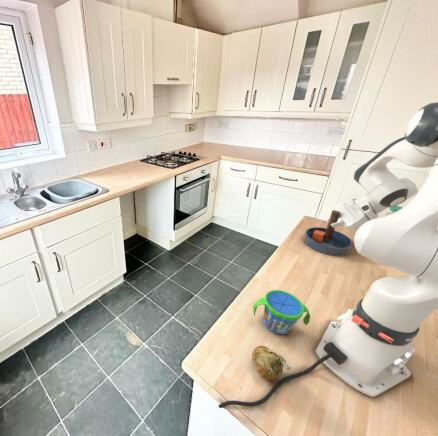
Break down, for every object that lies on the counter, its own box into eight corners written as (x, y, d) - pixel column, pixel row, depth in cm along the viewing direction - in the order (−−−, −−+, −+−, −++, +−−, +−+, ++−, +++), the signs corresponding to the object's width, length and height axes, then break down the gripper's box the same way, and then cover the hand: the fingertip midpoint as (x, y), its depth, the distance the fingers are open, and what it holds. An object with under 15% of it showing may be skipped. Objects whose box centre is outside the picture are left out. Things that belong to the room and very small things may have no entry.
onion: (271, 354, 68) (278, 336, 65) (286, 385, 61) (295, 367, 58) (245, 355, 68) (250, 337, 65) (257, 386, 61) (263, 368, 58)
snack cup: (300, 318, 79) (310, 296, 74) (307, 347, 70) (318, 324, 65) (249, 306, 84) (255, 284, 79) (249, 331, 75) (256, 308, 70)
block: (321, 242, 114) (323, 235, 113) (311, 240, 117) (313, 232, 115) (323, 239, 117) (325, 232, 115) (313, 236, 119) (315, 229, 118)
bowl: (336, 262, 103) (340, 253, 101) (294, 241, 117) (297, 234, 115) (356, 248, 111) (360, 240, 109) (315, 231, 125) (318, 223, 123)
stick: (328, 240, 112) (337, 213, 105) (322, 237, 114) (330, 211, 108) (332, 238, 113) (341, 212, 107) (325, 236, 115) (334, 209, 109)
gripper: (351, 192, 111) (319, 209, 118) (371, 212, 94) (333, 229, 101) (359, 202, 112) (327, 218, 119) (380, 223, 95) (342, 240, 102)
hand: (330, 223), depth 110 cm, fingers closed on stick, 3 cm apart
